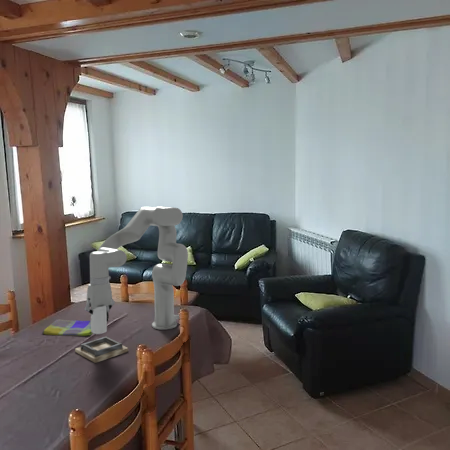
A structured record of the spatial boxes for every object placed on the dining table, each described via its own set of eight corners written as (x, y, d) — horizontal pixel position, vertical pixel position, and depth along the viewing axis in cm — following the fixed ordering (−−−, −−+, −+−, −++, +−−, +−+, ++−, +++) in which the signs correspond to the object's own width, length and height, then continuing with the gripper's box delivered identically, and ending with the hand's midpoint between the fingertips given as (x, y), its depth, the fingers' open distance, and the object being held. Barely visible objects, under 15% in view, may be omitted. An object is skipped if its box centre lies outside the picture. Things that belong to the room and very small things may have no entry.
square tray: (107, 341, 205) (107, 334, 204) (128, 351, 194) (128, 343, 193) (75, 351, 193) (74, 344, 193) (95, 363, 182) (95, 354, 182)
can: (102, 335, 188) (102, 307, 186) (88, 334, 189) (87, 306, 187) (109, 329, 194) (108, 302, 192) (95, 328, 195) (94, 302, 194)
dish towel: (88, 338, 210) (88, 332, 209) (39, 335, 213) (39, 329, 213) (103, 325, 227) (103, 320, 227) (58, 322, 230) (58, 317, 230)
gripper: (111, 275, 198) (112, 315, 200) (76, 282, 186) (77, 325, 188) (121, 278, 193) (122, 319, 195) (86, 285, 181) (87, 329, 183)
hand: (100, 321), depth 191 cm, fingers closed on can, 4 cm apart
